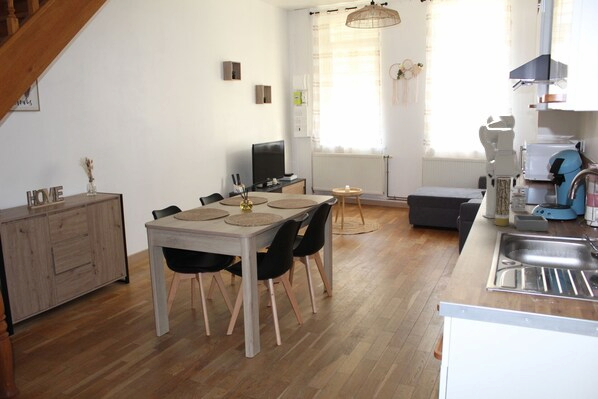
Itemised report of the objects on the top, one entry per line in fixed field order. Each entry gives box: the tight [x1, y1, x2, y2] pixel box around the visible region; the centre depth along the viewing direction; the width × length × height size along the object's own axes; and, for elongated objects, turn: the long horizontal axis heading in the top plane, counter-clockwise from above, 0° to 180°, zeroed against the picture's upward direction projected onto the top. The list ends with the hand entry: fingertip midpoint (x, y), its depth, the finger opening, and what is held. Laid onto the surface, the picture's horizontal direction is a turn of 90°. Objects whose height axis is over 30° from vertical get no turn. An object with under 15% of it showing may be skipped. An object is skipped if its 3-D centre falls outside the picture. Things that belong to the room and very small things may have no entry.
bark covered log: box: [494, 177, 512, 227], centre depth 254 cm, size 7×7×25 cm
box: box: [513, 214, 549, 232], centre depth 248 cm, size 14×14×5 cm
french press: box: [510, 167, 528, 212], centre depth 292 cm, size 10×12×25 cm
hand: (503, 186), depth 252 cm, fingers open, 9 cm apart
